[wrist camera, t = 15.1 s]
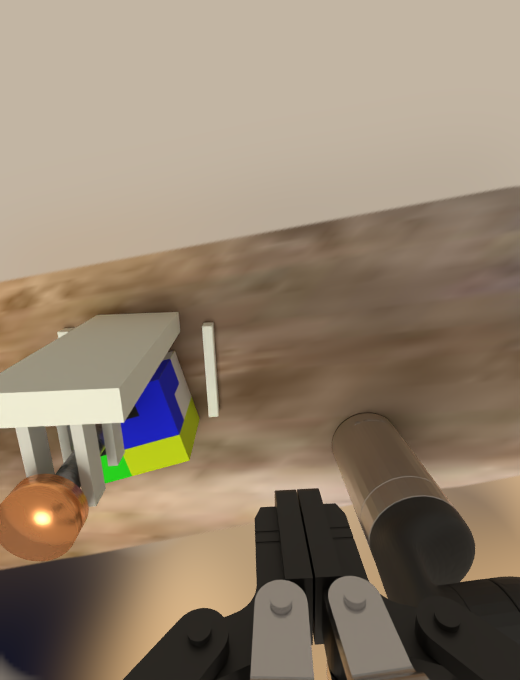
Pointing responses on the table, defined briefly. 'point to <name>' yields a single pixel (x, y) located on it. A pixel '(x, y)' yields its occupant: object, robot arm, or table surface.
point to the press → (91, 389)
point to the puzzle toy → (157, 425)
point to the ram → (45, 512)
